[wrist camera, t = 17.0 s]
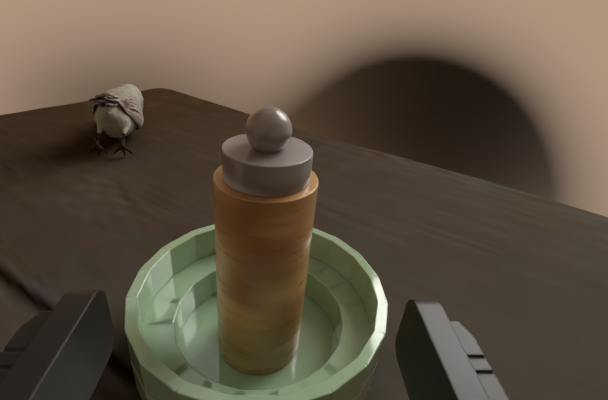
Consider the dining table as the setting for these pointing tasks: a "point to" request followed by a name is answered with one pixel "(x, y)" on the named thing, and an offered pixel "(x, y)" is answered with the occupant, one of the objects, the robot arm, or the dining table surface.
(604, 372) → the dining table surface
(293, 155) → the pepper mill
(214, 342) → the serving bowl
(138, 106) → the decorative bird
